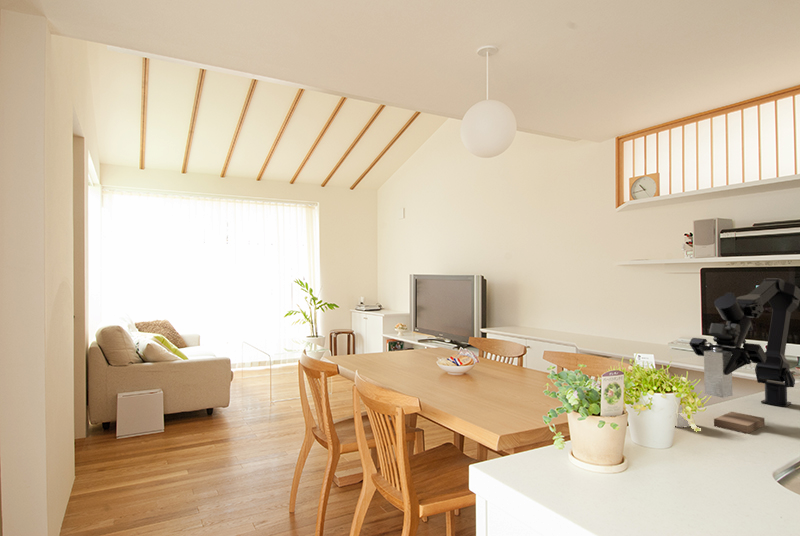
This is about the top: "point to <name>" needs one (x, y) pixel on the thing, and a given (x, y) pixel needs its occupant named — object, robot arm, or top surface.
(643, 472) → the top surface
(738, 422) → the plinth
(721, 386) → the housing
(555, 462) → the top surface
